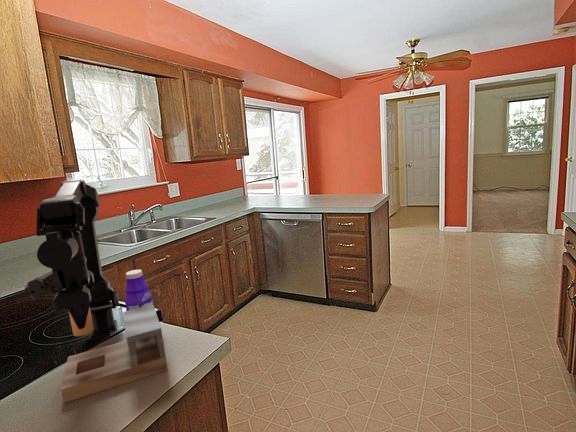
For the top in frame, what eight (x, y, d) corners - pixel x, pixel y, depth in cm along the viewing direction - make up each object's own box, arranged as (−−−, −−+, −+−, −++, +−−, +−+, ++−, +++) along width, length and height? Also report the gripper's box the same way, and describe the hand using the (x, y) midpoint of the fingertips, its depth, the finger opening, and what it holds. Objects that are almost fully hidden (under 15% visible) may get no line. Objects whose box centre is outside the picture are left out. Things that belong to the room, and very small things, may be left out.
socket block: (70, 367, 84) (62, 327, 83) (159, 341, 93) (153, 304, 91) (63, 404, 71) (53, 357, 69) (167, 370, 80) (161, 328, 78)
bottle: (145, 338, 95) (135, 276, 92) (126, 338, 96) (115, 276, 93) (160, 325, 102) (151, 267, 99) (142, 325, 103) (133, 267, 100)
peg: (74, 330, 81) (67, 297, 80) (94, 325, 82) (88, 292, 81) (72, 337, 77) (65, 302, 76) (93, 332, 79) (86, 298, 78)
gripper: (33, 255, 82) (46, 319, 84) (12, 275, 65) (30, 355, 68) (88, 246, 87) (99, 307, 89) (82, 263, 70) (96, 337, 72)
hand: (82, 324), depth 80 cm, fingers closed on peg, 4 cm apart
